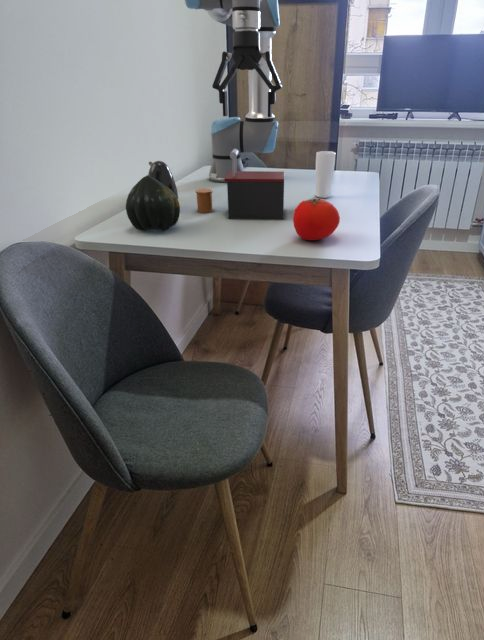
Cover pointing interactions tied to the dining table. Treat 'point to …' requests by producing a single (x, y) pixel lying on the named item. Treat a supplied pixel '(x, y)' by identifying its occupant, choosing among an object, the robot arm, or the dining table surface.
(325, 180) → the drinking glass
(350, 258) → the dining table surface
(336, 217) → the tomato
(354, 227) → the dining table surface
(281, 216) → the black storage bin
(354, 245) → the dining table surface
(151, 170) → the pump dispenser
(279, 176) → the lid
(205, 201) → the orange tapered cylinder
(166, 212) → the squash
